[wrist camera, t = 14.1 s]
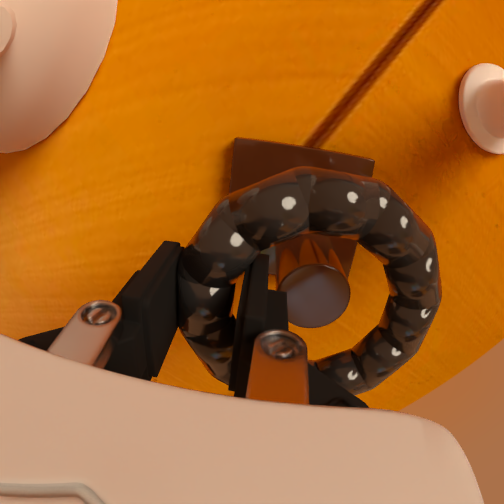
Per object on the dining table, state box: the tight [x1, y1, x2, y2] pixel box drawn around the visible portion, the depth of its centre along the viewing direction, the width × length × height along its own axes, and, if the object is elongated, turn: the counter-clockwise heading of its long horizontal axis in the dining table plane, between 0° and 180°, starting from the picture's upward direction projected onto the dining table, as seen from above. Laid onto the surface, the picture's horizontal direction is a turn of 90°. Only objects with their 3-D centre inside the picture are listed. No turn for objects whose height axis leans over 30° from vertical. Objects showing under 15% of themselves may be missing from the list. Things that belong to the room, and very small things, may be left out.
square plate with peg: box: [229, 137, 375, 328], centre depth 17 cm, size 9×9×11 cm
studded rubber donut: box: [177, 166, 442, 395], centre depth 11 cm, size 10×10×2 cm
